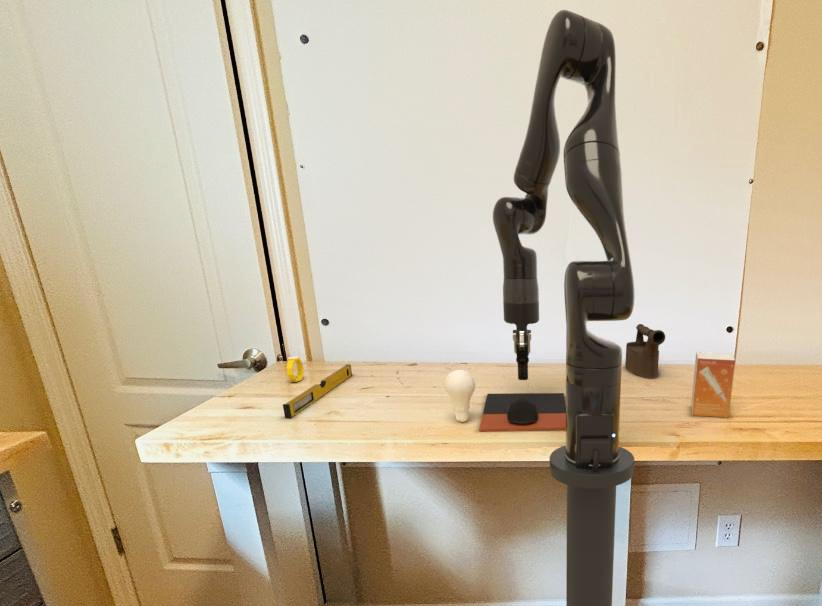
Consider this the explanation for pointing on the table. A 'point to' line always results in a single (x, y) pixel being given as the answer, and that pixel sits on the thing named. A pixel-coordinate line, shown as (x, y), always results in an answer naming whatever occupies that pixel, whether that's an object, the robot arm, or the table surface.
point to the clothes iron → (644, 352)
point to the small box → (712, 384)
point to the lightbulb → (460, 392)
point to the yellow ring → (290, 368)
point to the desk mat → (548, 419)
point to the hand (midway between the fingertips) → (523, 379)
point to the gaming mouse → (522, 411)
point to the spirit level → (316, 391)
